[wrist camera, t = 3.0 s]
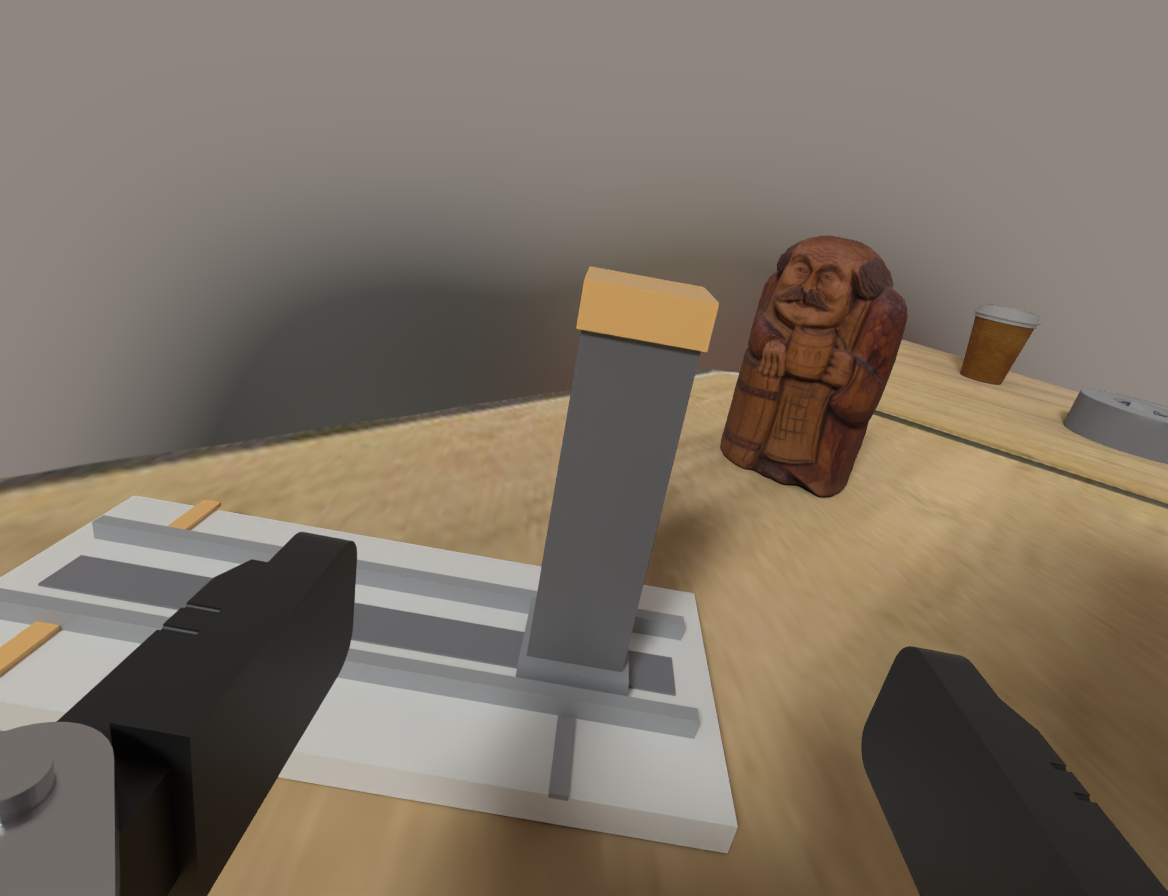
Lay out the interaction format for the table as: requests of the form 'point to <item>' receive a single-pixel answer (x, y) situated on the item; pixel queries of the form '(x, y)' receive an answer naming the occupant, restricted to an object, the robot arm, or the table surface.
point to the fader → (613, 473)
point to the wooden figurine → (815, 364)
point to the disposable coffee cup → (996, 341)
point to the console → (399, 674)
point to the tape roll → (1121, 423)
